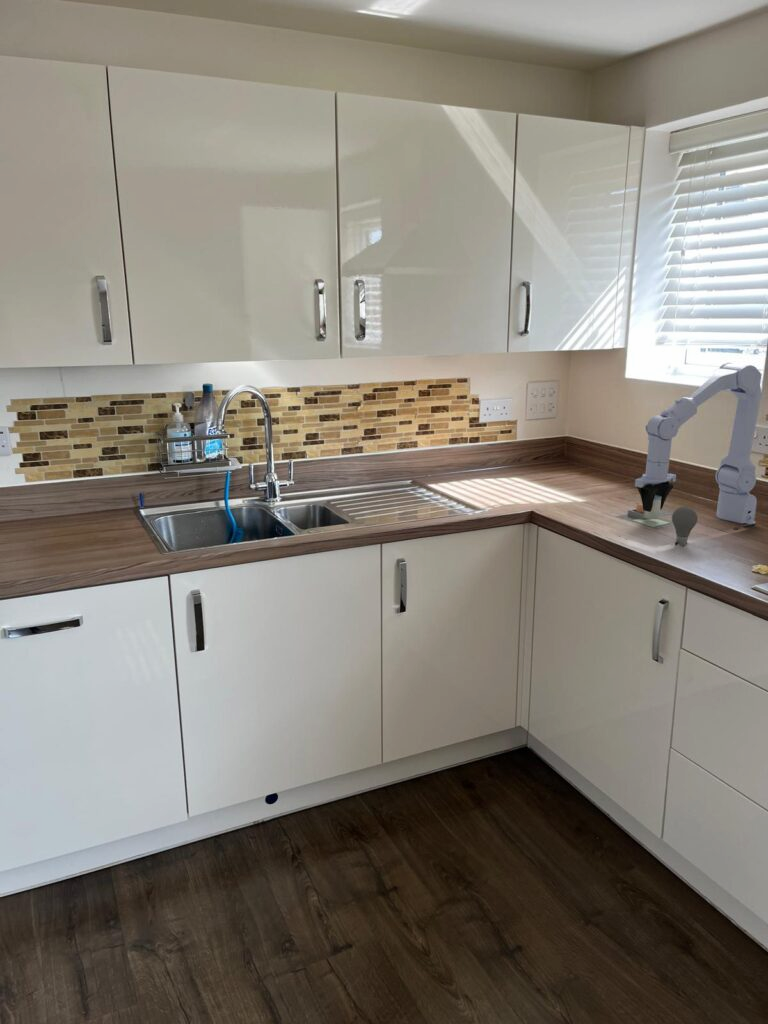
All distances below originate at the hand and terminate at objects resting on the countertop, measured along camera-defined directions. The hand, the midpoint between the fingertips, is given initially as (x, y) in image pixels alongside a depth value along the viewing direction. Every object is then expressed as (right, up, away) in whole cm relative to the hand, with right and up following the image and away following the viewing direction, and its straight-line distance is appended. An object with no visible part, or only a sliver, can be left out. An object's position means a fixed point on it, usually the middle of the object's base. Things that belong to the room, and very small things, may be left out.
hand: (652, 509), depth 208 cm
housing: (+3, -4, +5) cm, 7 cm away
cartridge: (0, -2, +1) cm, 2 cm away
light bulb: (+2, -9, -14) cm, 17 cm away
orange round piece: (-1, -2, +6) cm, 6 cm away
